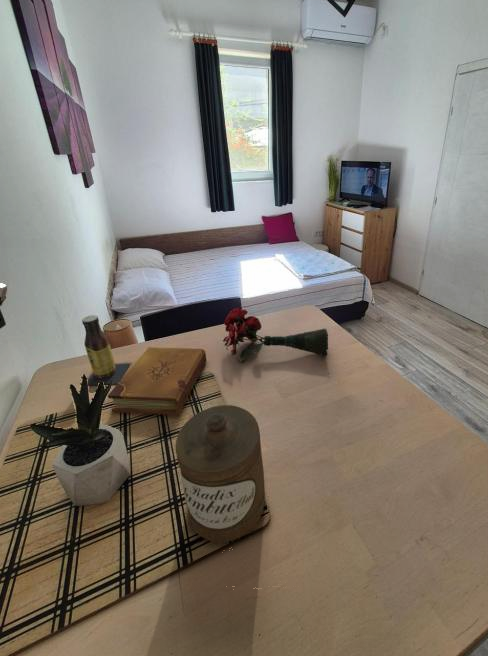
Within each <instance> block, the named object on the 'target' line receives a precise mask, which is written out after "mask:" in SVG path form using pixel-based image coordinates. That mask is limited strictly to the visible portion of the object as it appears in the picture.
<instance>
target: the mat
mask: <svg viewBox="0 0 488 656" xmlns="http://www.w3.org/2000/svg"><path fill="white" fill-rule="evenodd" d="M130 365H131V362H129V363H115V367H116V370H115V372H114V373H113V374H112V375H111V376H109V377H105V378H97V377H96V376H95V375H94V373H93V372H92V373H91V374H90V376H89V377H88V378H87V380H88V386H87V387H93V386H95V387H96V386H99V385H98V383H99V382H100V381H103V382H104V385H103V386H109V384H110V382H111V381H112V380H113V384H112V385H117V384H118V383H119V382H120V380H121V379H122V378H123V377H124V376H125V374H126V373H127V370H128V368H129V367H130Z"/></svg>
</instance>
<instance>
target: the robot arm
mask: <svg viewBox="0 0 488 656" xmlns="http://www.w3.org/2000/svg"><path fill="white" fill-rule="evenodd" d="M7 292H8V286H7V285H6V284H4V283H1V282H0V307H2V306H3V303H4V302H5V300H6V299H7ZM6 325H7V323H6V320H5V317H4V316H3V312H2V310H1V309H0V330H1V329H2V328H4V327H5V326H6Z"/></svg>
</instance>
